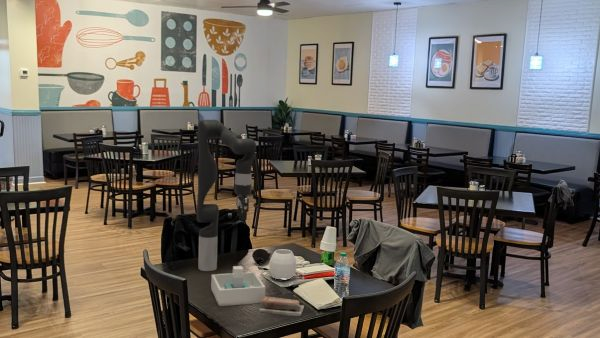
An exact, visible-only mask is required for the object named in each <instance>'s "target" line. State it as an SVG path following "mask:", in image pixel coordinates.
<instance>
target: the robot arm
mask: <svg viewBox="0 0 600 338" xmlns="http://www.w3.org/2000/svg"><path fill="white" fill-rule="evenodd" d="M209 139H210V140H211V139H220V140H221V142H222V143H223V145H224V146H226V147H228V148H230V149H231V151H232V153H234V154H235V155H243V157H242V158H240V159H238V160H236V163H235V175H234V194H236V203H235V206H236V208H237V214H236V216H238V217H241V221H242V222H243V221H244V222H246V221H247V220H248V219H247V218H248V212H249V209H250V206H249V204H250V199H249V198H248V197H247V196H248V195H250V194H251V193H252V181H253V180H252V177H253V176H252V164H253V161H254V158H255V154H256V151H257V144H256V141H255V140H254V139H253V138H243V137H242V136H241V135H239V134H238V133H235V132H233V131H232V130H230V129H228V128H227V126H226V125H224V124H223V123H222V122H220V121H219V120H218V119H201V120H199V121H198V124H197V142H198V165H197V166H198V167H197V200H196V212H195V214H196V222H197V223H201V224H202V223H206V224H207V223H210V224H209V225H207V226H205V227H203V228H200V229H199V232H198V261H197V262H198V265H197V266H198V270H200V271H202V272H212V271H215V270H217V268H218V264H217V263H218V236H219V235H218V226H219V217H220V214H219V213H220V210H219V209H220V208H219V206H218V204H215V203H204V202H205V199H206V197H207V195H208V193H209V192H210V190H211V188H212V187H213V186H214V184H215V182H216V181H217V179H218V178H217V177H218V164H217V162H216V160H215V158H214V156H213V155H212V153H211V151H210V148H209V143H208V141H209Z"/></svg>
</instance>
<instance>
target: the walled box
mask: <svg viewBox="0 0 600 338" xmlns="http://www.w3.org/2000/svg"><path fill="white" fill-rule="evenodd" d="M210 276H211V281H210V282H211V287H210V290H211V292H212V294H213V296H214V299H215V302H216V304H217V305H218V307H226V306H237V305H238V306H239V305H251V304H260V302H261V300H262V299H263V297H266V290H267V289H266V285H264V283H263V282H262V280H261V279H260V277H259V276H258V275H257V273H256V272H255V271H249V272H247V271H246V272H244V274H243V288H234V289H233V288H232V278H233V272H232V273H217V274H211V275H210Z"/></svg>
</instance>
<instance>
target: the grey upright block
mask: <svg viewBox="0 0 600 338" xmlns="http://www.w3.org/2000/svg"><path fill="white" fill-rule="evenodd" d="M232 273H233V278H232V288H233V289H234V288H243V274H244V273H245V272H244V267H243V265H234V266H232Z"/></svg>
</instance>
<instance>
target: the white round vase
mask: <svg viewBox="0 0 600 338" xmlns="http://www.w3.org/2000/svg"><path fill="white" fill-rule="evenodd" d="M268 270H269V274H270V276H271V277H272V278H273V279H274V278H275V279H274V280H276V279H280V278H290V277H293V276H295V274H296V272H297V259H296V256H295V255H294V253H293V251H292V250H290V249H284V248H282V249H281V248H280V249H276V250H274V252H273V253H272V254H271V256H270V258H269V269H268ZM293 278H294V277H293Z"/></svg>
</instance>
